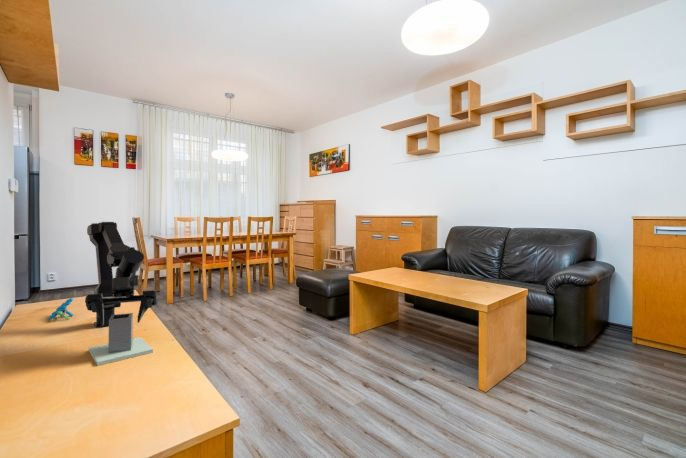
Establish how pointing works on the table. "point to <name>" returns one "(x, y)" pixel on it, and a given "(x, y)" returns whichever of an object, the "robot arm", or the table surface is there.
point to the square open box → (120, 332)
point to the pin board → (104, 357)
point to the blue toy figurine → (62, 310)
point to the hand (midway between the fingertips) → (120, 323)
